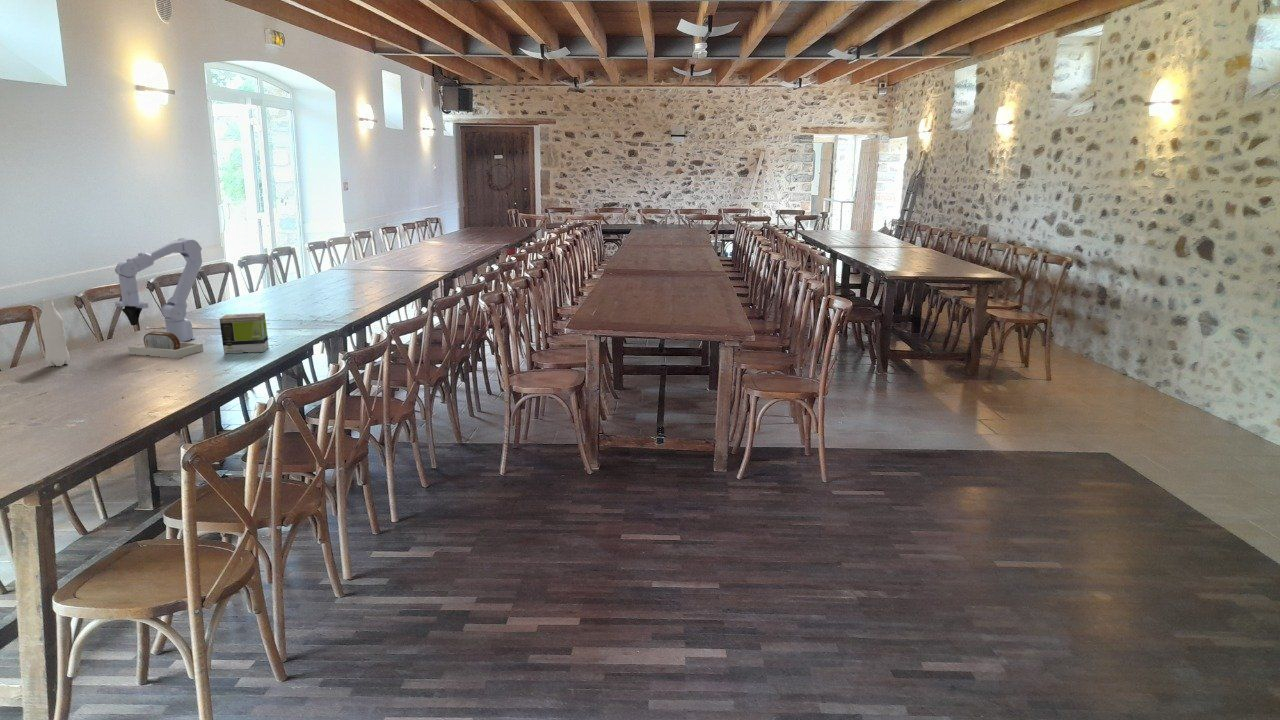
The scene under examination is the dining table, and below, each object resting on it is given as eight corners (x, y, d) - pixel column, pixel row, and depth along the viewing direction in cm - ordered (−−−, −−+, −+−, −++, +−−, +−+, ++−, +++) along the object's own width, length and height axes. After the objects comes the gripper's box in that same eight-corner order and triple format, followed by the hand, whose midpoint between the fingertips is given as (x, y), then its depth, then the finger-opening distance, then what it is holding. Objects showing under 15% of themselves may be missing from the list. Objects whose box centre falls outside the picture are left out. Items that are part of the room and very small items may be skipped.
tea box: (269, 347, 316) (265, 312, 312) (264, 352, 307) (260, 316, 303) (229, 348, 312) (225, 313, 309) (223, 354, 303) (218, 318, 299)
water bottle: (74, 364, 284) (63, 298, 278) (52, 368, 278) (40, 301, 272) (65, 362, 288) (53, 296, 282) (43, 365, 282) (31, 299, 276)
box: (156, 346, 313) (155, 339, 313) (203, 350, 308) (202, 343, 307) (129, 354, 301) (128, 346, 300) (177, 358, 296) (176, 350, 295)
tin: (181, 353, 304) (179, 332, 302) (175, 354, 301) (172, 334, 299) (150, 350, 307) (147, 330, 305) (143, 352, 304) (140, 332, 302)
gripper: (106, 292, 305) (111, 325, 308) (135, 294, 301) (140, 327, 305) (121, 289, 311) (126, 322, 315) (150, 291, 308) (155, 324, 311)
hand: (134, 324), depth 310 cm, fingers closed
